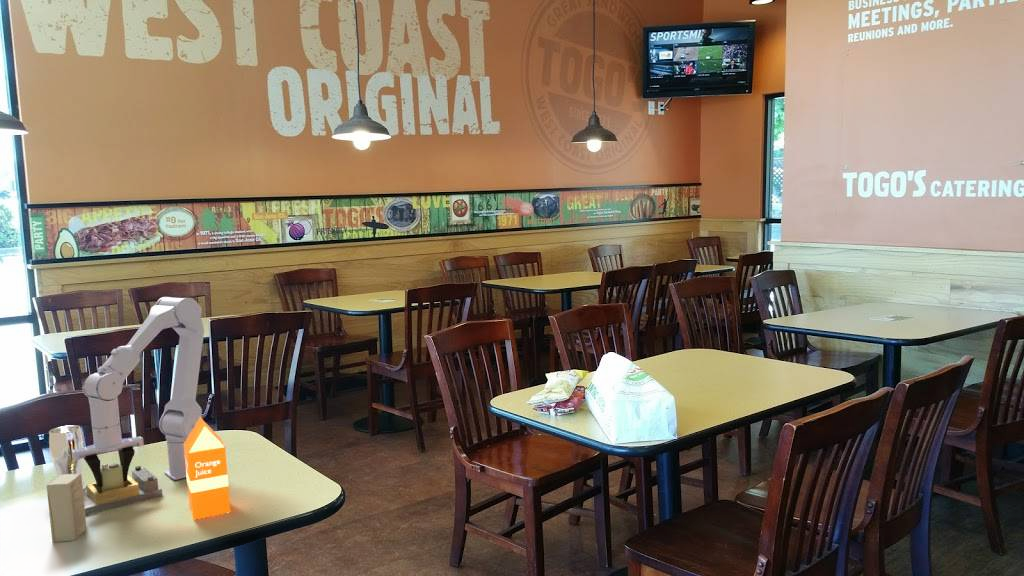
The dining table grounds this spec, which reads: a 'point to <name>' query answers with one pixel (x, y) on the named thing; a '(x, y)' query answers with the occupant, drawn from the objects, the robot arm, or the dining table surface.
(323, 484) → the dining table surface
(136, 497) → the grey metal fixture plate
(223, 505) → the orange juice
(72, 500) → the skincare box
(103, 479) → the spout can
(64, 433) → the beer glass
